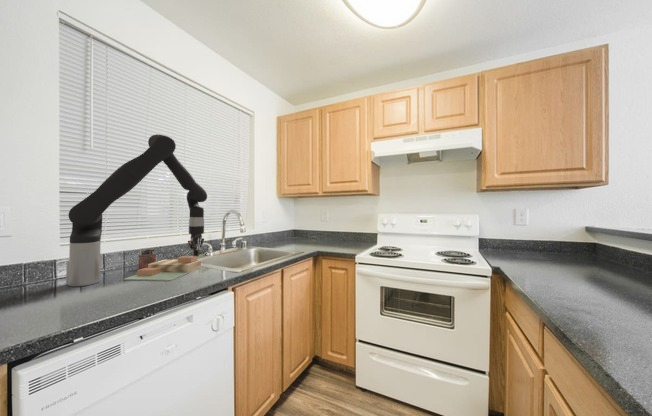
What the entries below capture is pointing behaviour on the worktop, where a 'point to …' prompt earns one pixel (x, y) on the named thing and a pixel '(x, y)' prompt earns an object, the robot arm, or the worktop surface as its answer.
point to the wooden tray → (175, 266)
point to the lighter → (146, 258)
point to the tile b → (187, 259)
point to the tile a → (148, 271)
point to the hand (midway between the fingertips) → (196, 256)
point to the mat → (159, 276)
